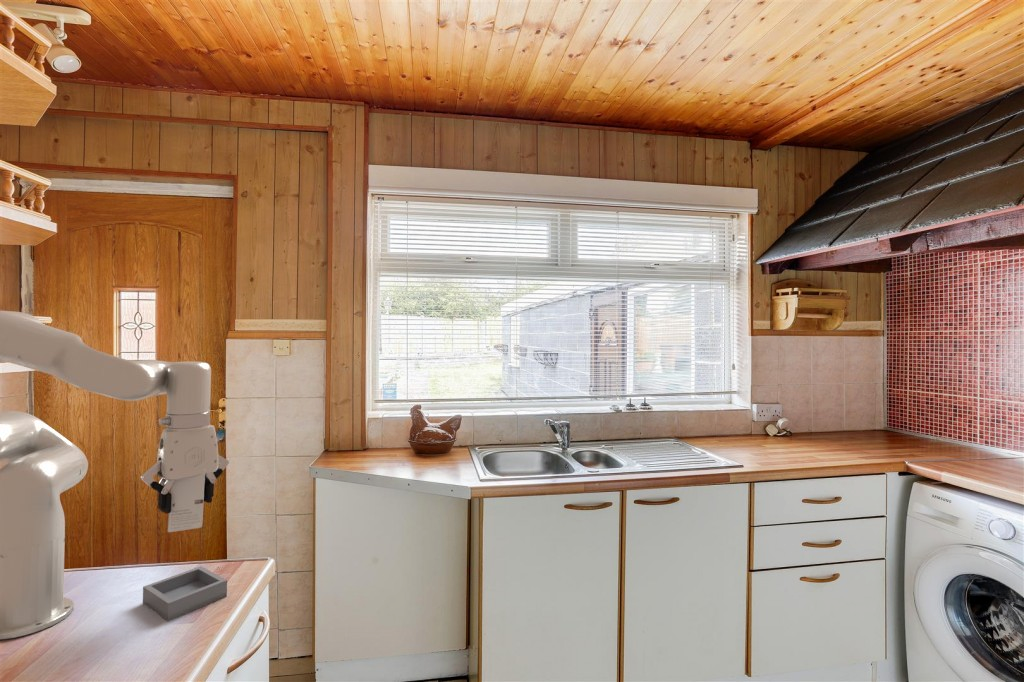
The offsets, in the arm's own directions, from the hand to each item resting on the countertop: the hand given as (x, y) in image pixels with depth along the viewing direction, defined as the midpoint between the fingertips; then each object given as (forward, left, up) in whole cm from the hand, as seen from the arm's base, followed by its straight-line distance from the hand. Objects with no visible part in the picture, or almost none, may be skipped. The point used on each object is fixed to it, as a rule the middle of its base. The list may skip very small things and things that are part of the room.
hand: (186, 505), depth 100 cm
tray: (0, 0, -20) cm, 20 cm away
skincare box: (0, 0, -5) cm, 5 cm away
